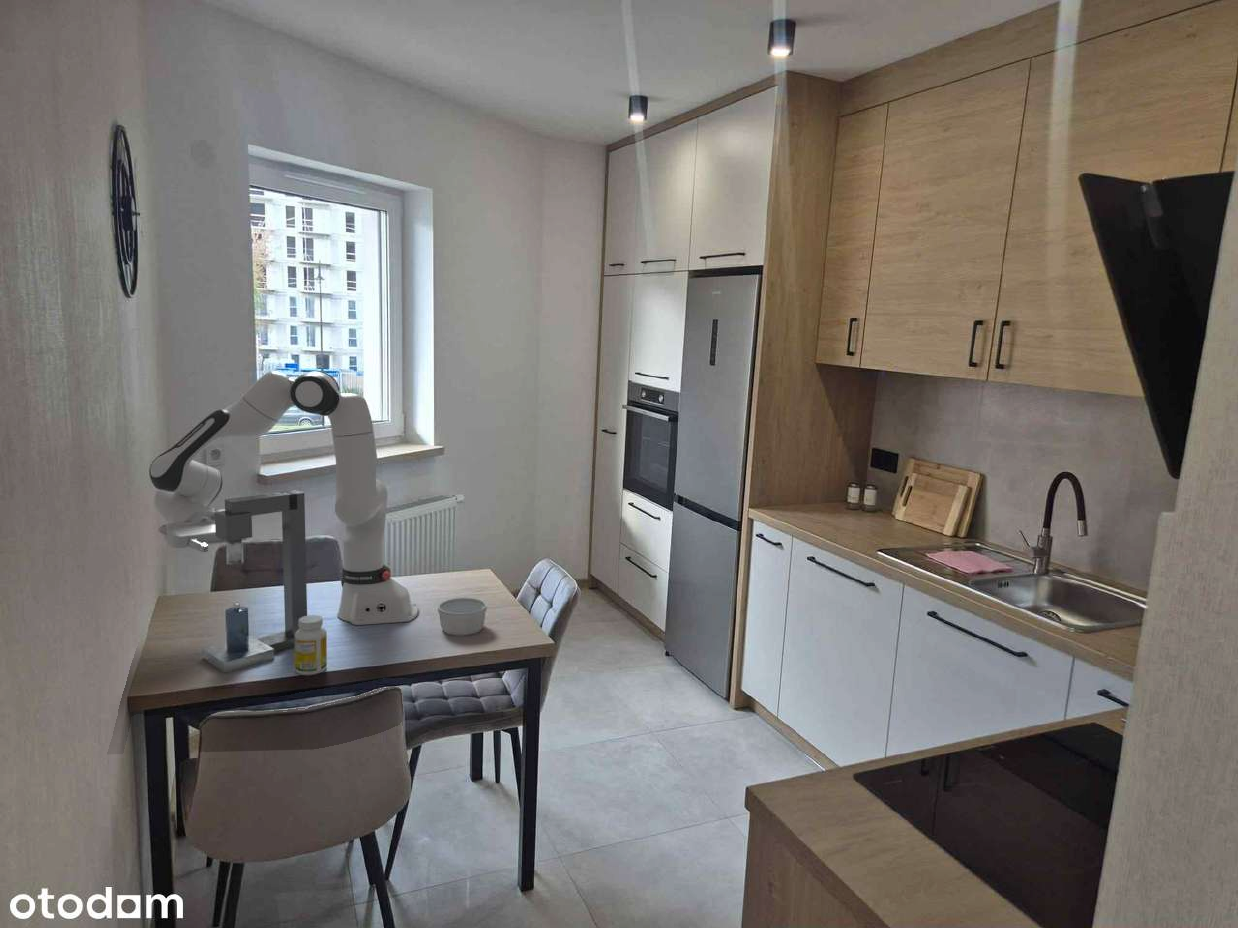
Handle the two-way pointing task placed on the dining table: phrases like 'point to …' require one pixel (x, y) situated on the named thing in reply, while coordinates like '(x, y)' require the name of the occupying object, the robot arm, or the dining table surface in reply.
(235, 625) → the blue bottle with knob
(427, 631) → the dining table surface
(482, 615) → the ramekin
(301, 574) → the press
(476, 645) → the dining table surface
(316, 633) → the supplement bottle
